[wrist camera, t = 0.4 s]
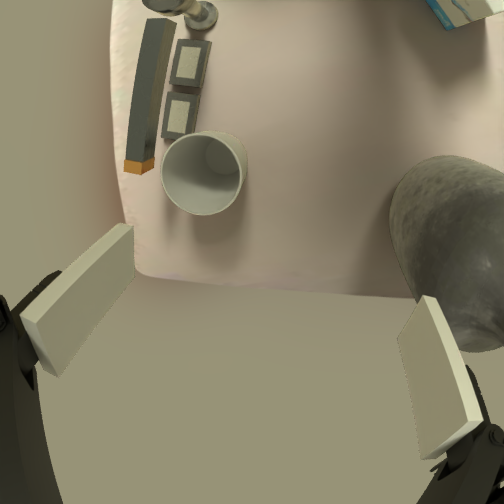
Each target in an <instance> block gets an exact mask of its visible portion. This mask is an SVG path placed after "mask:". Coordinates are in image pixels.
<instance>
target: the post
mask: <svg viewBox="0 0 504 504" xmlns="http://www.w3.org/2000/svg"><path fill="white" fill-rule="evenodd" d="M182 14H183V15H184V20H185V23H186V24H187V25H188V26H189V27H191V28H192V29H195V30H205V29H208V28H210V27H211V26H213V25H214V23H215V22H216V20H217V18H218V11H217V9H216V7H215V6H214V5H213V4H211V3H209V2H206V1H199V2H197V1H196V0H195V2H194V3H193V5H192V6H191V7H190V8H189V9H188V10H187V11H186V12H184V13H182Z"/></svg>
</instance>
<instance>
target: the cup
mask: <svg viewBox="0 0 504 504" xmlns="http://www.w3.org/2000/svg"><path fill="white" fill-rule="evenodd" d="M246 173H247V154H246V150H245V148H244V146H243V145H242V143H241V142H240V141H239V140H238V139H237V138H235V137H234V136H232V135H230V134H227V133H223V132H218V131H204V132H198V133H192V134H188V135H185V136H183V137H181V138H179V139H177V140H176V141H175V142H173V143H172V144H171V145H170V146H169V148H168V149H167V151H166V152H165V154H164V156H163V159H162V162H161V169H160V175H161V182H162V185H163V188H164V190H165V192H166V194H167V195H168V197H169V198H170V200H171V201H172V202H173V203H174V204H175V205H176V206H178V207H179V208H181V209H182V210H184V211H186V212H188V213H191V214H195V215H212V214H216V213H219V212H221V211H223V210H225V209H226V208H227V207H229V206H230V205H231V204H232V203H233V201H234V200H235V199H236V197H237V195H238V193H239V191H240V189H241V187H242V184H243V182H244V180H245V177H246Z"/></svg>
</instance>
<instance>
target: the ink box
mask: <svg viewBox="0 0 504 504" xmlns="http://www.w3.org/2000/svg"><path fill="white" fill-rule="evenodd" d="M426 2H427V3H428V5H429V6H430V7H431V9H432V10H433V11H434V13H435V14H436V16H437V17H438V19H439V20H440V21H441V23H442V24H443V26H444V27H445V29H446V30H451V29H453V28H456V27H459V26H462V25H465V24H468V23H471V22H474V21H477V20H480V19H482V18H486V17H489V16H492V15H495V14H498V13H501V12H504V0H426Z"/></svg>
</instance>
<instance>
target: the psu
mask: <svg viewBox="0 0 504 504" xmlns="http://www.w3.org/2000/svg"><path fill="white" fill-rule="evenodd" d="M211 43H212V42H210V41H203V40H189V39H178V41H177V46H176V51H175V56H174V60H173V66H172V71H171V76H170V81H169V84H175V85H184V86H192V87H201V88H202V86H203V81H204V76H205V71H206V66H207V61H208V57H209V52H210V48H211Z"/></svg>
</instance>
